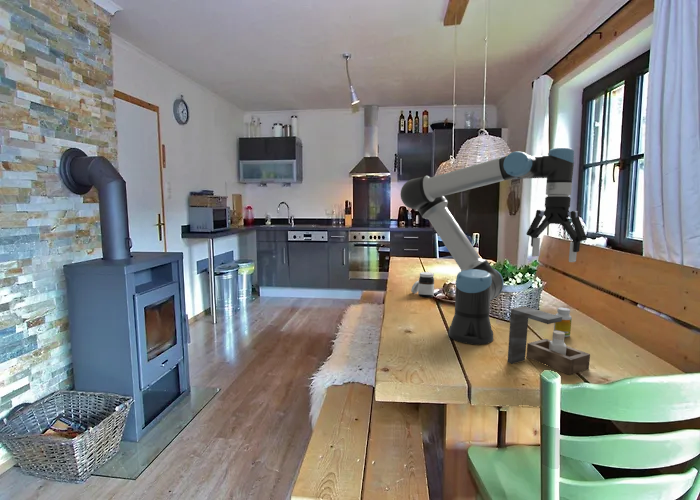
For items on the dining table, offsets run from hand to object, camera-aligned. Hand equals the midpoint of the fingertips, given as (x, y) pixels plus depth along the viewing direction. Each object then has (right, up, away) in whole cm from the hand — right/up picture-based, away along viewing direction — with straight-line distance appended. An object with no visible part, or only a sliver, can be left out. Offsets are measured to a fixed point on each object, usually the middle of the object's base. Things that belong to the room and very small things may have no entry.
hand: (552, 258), depth 133 cm
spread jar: (-32, -20, +65) cm, 76 cm away
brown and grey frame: (-11, -31, -18) cm, 37 cm away
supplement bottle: (+8, -28, +9) cm, 31 cm away
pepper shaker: (-7, -31, -15) cm, 35 cm away
